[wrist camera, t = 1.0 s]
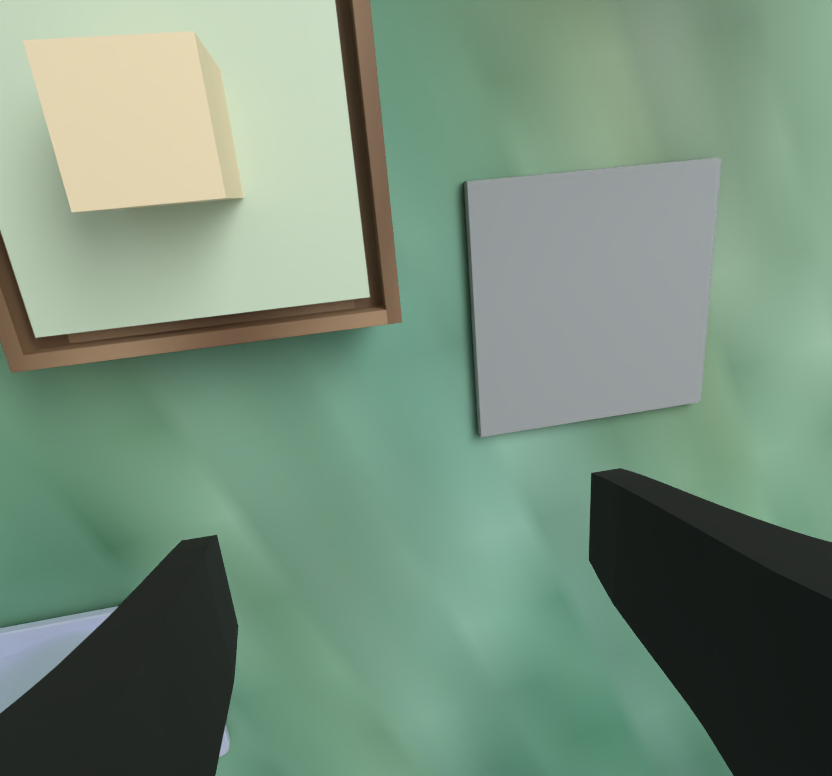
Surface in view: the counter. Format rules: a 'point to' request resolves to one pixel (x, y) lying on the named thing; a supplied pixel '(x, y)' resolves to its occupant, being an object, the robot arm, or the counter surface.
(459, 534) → the counter surface
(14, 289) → the walnut box
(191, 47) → the lid
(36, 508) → the counter surface
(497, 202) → the rubber mat
